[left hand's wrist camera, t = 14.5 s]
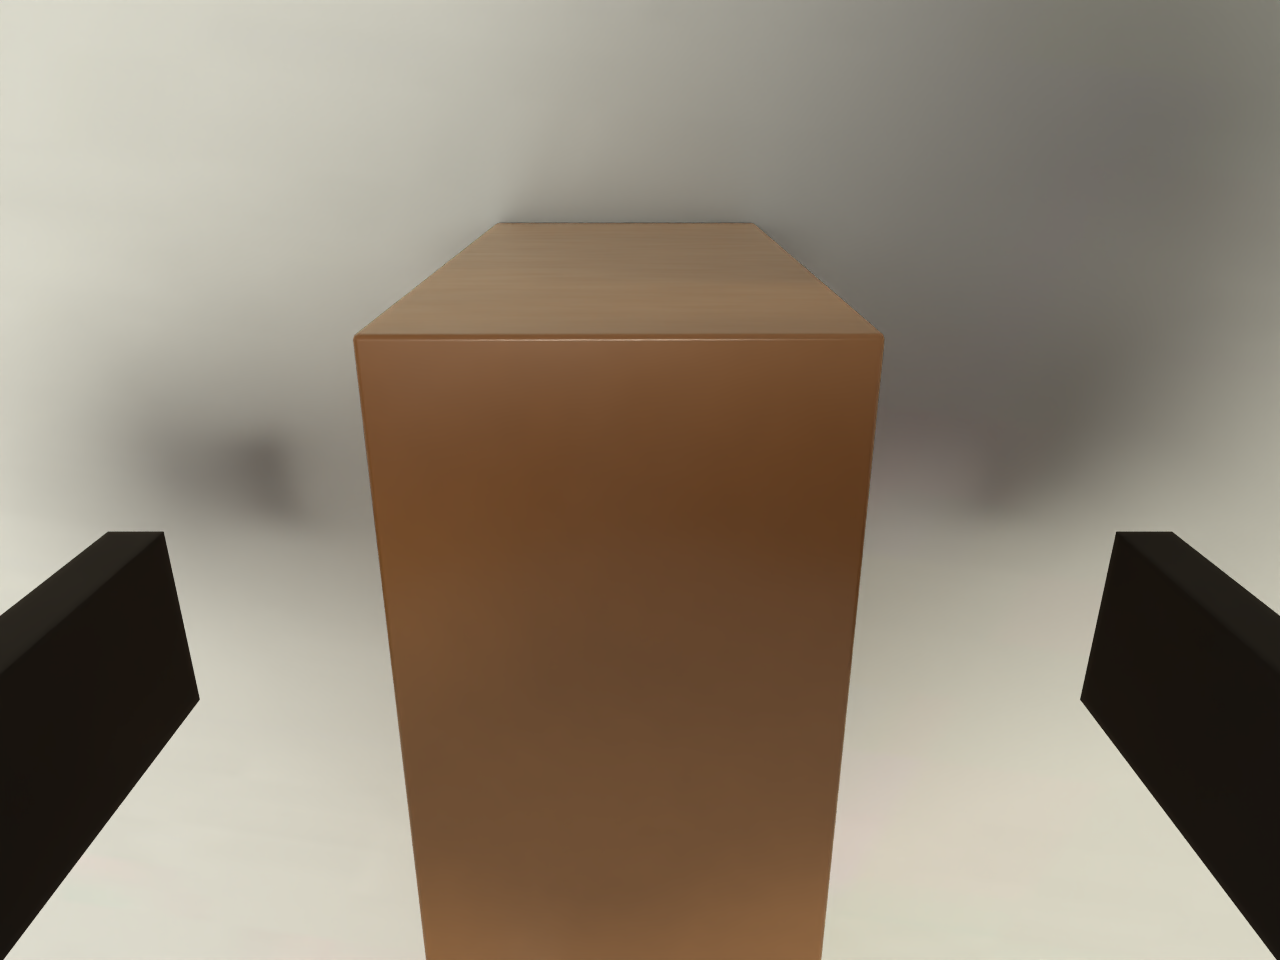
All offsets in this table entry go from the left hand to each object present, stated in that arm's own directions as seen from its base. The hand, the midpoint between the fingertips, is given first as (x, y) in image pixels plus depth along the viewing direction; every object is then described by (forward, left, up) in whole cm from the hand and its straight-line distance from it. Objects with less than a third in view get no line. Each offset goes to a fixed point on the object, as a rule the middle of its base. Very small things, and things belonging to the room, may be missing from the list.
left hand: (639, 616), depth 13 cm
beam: (+13, +22, -5) cm, 26 cm away
